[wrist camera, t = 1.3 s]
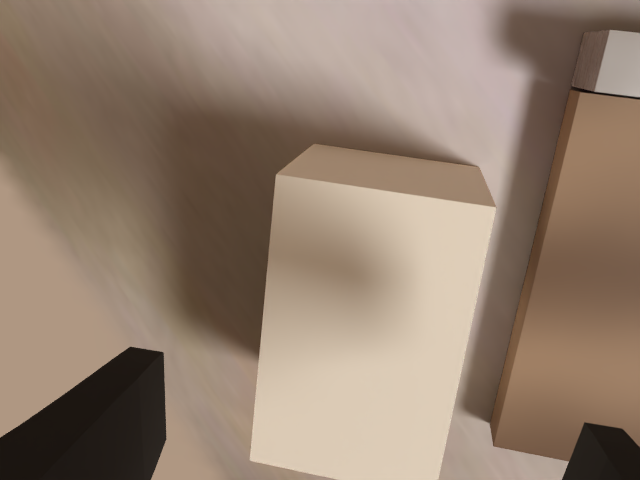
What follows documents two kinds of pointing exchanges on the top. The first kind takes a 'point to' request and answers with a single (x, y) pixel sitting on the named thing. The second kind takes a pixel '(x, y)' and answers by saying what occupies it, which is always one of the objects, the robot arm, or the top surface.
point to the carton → (367, 312)
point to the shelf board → (579, 290)
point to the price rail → (609, 63)
